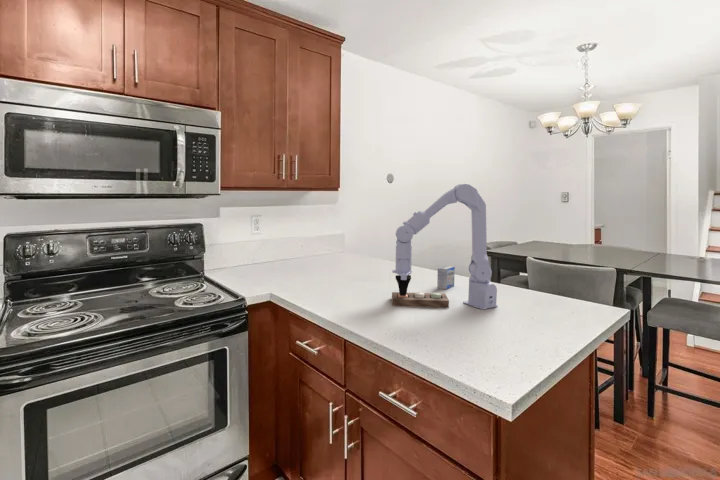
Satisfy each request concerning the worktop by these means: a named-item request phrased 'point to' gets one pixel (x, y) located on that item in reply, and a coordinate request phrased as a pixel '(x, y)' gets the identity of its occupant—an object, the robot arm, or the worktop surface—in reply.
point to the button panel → (420, 300)
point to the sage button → (435, 295)
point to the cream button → (418, 295)
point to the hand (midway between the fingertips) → (402, 295)
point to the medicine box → (445, 277)
